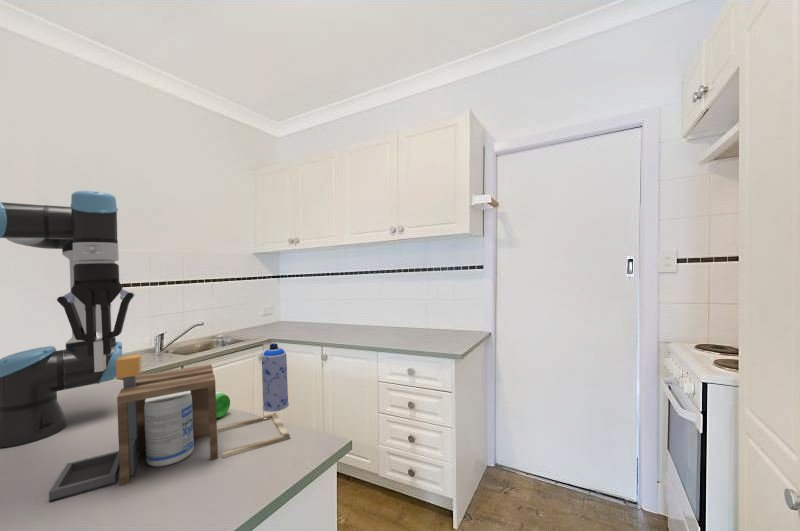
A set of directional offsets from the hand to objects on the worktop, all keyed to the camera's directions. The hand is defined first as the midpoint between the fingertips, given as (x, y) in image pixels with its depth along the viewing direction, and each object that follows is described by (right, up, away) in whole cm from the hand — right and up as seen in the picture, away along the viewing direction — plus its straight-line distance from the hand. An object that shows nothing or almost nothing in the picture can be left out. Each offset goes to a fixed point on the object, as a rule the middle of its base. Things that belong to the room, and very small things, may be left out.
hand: (100, 369), depth 76 cm
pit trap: (-1, -23, -1) cm, 23 cm away
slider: (+5, -23, +3) cm, 24 cm away
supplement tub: (+11, -23, +7) cm, 26 cm away
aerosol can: (+26, -22, +35) cm, 49 cm away
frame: (+27, -22, +16) cm, 38 cm away
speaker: (+5, -23, +31) cm, 39 cm away
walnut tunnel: (+12, -23, +7) cm, 26 cm away
